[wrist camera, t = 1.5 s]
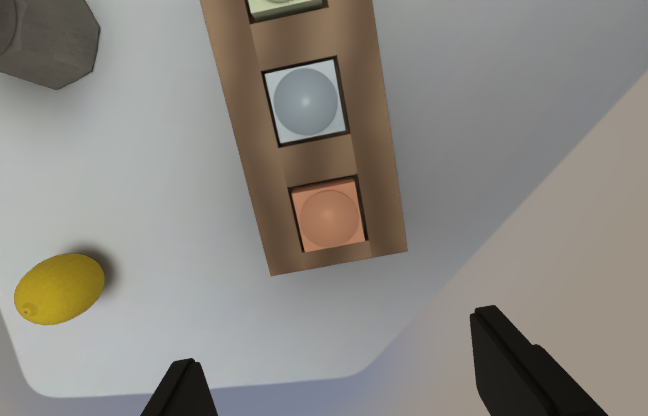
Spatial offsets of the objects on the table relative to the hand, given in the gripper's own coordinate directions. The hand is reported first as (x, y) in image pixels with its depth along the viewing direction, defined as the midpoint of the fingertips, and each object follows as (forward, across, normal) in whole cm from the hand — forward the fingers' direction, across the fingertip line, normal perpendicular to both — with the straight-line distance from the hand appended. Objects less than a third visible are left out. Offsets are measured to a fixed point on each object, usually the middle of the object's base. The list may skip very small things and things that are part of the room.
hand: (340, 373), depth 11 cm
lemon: (+23, +24, +2) cm, 33 cm away
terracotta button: (+20, 0, 0) cm, 20 cm away
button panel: (+22, 0, -9) cm, 24 cm away
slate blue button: (+20, 0, -9) cm, 22 cm away
